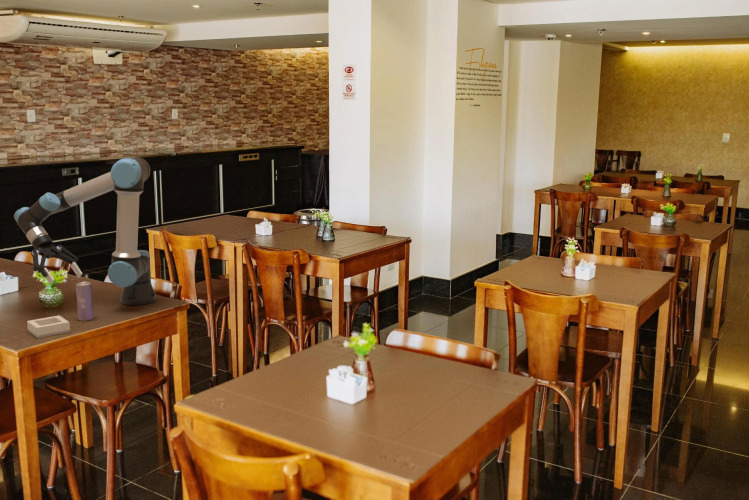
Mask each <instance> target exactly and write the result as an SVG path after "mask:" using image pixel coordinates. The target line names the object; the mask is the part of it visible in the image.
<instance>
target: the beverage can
mask: <svg viewBox="0 0 749 500" xmlns="http://www.w3.org/2000/svg"><path fill="white" fill-rule="evenodd" d="M75 293H76V305H77V317H78V318H77V319H78V320H79V321H81V322H87V321H91V320H93V319H94V318H95V313H94V300H93V299H94V298H93V288H92V282H90V281H81V282H77V283H76V284H75Z"/></svg>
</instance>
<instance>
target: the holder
mask: <svg viewBox="0 0 749 500" xmlns="http://www.w3.org/2000/svg"><path fill="white" fill-rule="evenodd" d="M26 322H27V331H28V333H30V334H31V335H32V336H34V337H35V338H36V339H41V338H45V337H50V336H56V335H61V334H68V333H71V326H70V325H71V323H70V321H69V320H67V319H65V318H64V317H63V316H62V315H54V316H49V317H43V318H36V319H31V320H27V321H26Z"/></svg>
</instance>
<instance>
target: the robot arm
mask: <svg viewBox="0 0 749 500" xmlns="http://www.w3.org/2000/svg"><path fill="white" fill-rule="evenodd" d="M150 175H151V167H150V164H149V163H148V162H147V161H146V159H144V158H142V157H141V156H131V157H124V158H121V159H119V160H117V161H116V162H115V163H113V165H112V167H111V170H110V171H108V172H106V173H104V174H101V175H100V176H97V177H95V178H92V179H89V180H88V181H85V182H82V183H80V184H78V185H75V186H72V187H70V188H69V189H66V190H63V191H61V192H58V193H56V194H54V193H51V192H46V193H45V194H43V195H42V196H40V197H39V199H38V200H37V201H36V202H35V203H34V204H32V205H31V206H30V207H28V206H24V207H21V208H19V209H17V210H16V211H15V213H14V215H13V218H14V221H16V223H17V224H16V225H17V226H19V228H20V229H21V230H22V232H23V233H24V235H25V237H26V238H27V240H28V241H29V243H30V244H31V246H32V247H33V249H32V251H31V253H30V255H31V257H32V268H33V269H32V270H33V271H34V272H37V273H39V274H40V275H42V277H43V278H45V280H46V281H47V282H48V284H49V285H52V284H53V283H54V282H55V279H54V277H53V276H52V274H51V273H50V272H49V270H48V269H47V267H45V264H46V261H47V260H48V259H53V258H55V259H59V260H61V261H63V262H66V263H67V264H69V265H70V268H71V269H72V270H73V272H74V274H75V275H76V276H77V278H81V276H82V275H83V272H82V271H81V269H80V266H79V264H78V263H77V262H78V261H79V260H80V258H79V257H78V256H76V255H75V254H73V253H72V252H71V251H70V250H68V249H67V248H65V247H64V246H63V245H62V244H59V245H57V246H56V245H54V241H53V240H52V238H51V237H50V235H49V233H48V232H47V231H46V230H45V228H44V227H43V225H42V223H43V222H44V221H45V220H46V219H47V218H49V216H51V215H53V214H57V213H59V212H63V211H66V210H68V209H70V208H72V207H74V206H78V205H80V204H82V203H84V202H87V201H90V200H92V199H95V198H96V197H99V196H101V195H104V194H106V193H110V192H112V191H114V192H115V193H116V194H117V204H116V205H117V206H116V234H115V235H116V236H115V237H116V238H115V240H116V241H115V250H114V251H113V252H112V253H111V264H110V265H109V267H108V270H107V276H108V279H109V281H110V282H111V283H112V284H113V285H114V286H116V287H119V288H122V291H121V294H120V304H122V305H127V306H138V305H147V304H150V303H154V302H155V301H156V300H157V295H156V292H155V290H154V287H153V285H152V280H151V279H152V276H151V261H150V260H151V257H150V252H149V251H148V250H146V249H145V250H143V249H139V250H138V244H139V243H138V242H139V241H138V240H139V239H138V237H139V236H138V235H139V216H140V215H139V214H140V211H139V209H140V196H141V194H142V193H143V192H144V185H145V184H144V183H145V182H146V181H147V180H148V179H149V177H150ZM39 256H41V258H40V262H39Z"/></svg>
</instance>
